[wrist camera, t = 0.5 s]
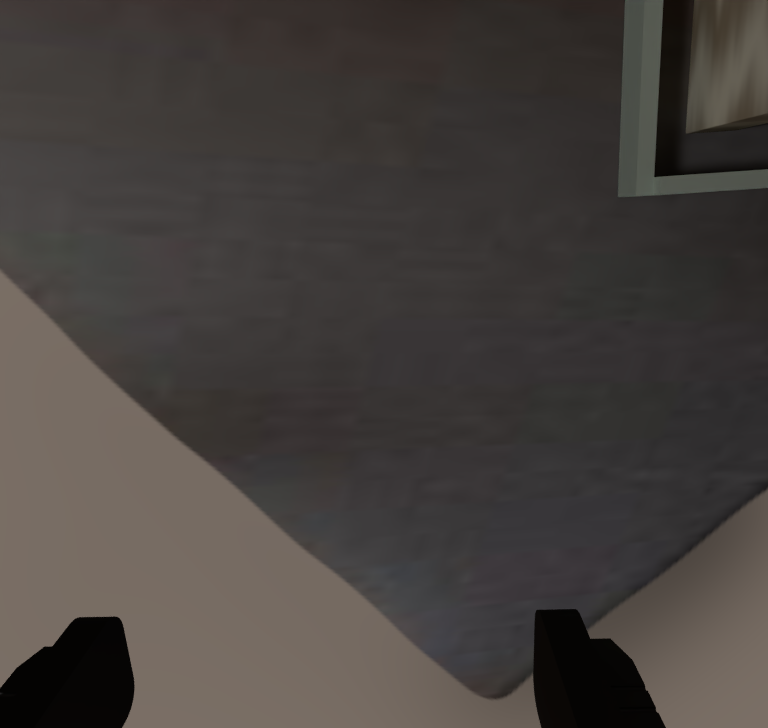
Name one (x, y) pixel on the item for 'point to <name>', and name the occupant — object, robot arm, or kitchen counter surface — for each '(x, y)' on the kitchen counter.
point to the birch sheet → (728, 66)
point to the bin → (655, 116)
